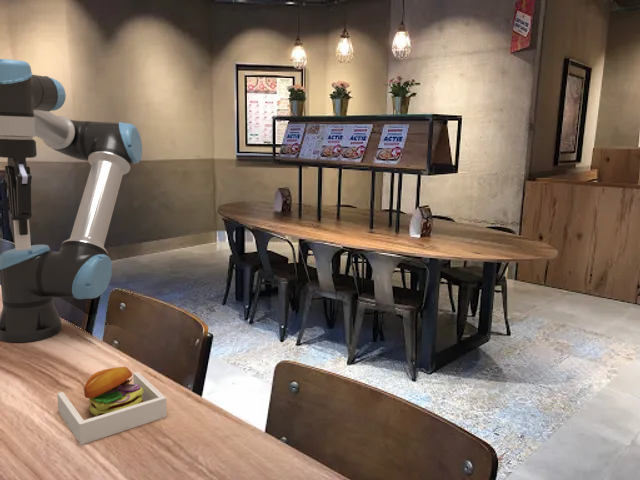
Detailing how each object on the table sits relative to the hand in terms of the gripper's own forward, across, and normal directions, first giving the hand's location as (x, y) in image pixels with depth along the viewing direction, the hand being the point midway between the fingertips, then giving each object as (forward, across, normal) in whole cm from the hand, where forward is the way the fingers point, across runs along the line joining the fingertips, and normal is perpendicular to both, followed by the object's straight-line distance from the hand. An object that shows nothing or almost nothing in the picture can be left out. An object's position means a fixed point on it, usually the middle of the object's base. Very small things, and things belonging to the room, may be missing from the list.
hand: (23, 248), depth 115 cm
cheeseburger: (+29, +28, +9) cm, 41 cm away
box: (+28, +29, +8) cm, 41 cm away
